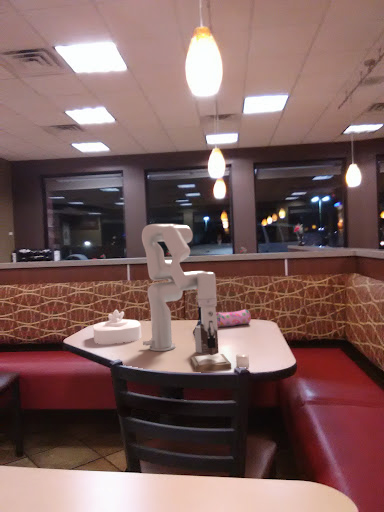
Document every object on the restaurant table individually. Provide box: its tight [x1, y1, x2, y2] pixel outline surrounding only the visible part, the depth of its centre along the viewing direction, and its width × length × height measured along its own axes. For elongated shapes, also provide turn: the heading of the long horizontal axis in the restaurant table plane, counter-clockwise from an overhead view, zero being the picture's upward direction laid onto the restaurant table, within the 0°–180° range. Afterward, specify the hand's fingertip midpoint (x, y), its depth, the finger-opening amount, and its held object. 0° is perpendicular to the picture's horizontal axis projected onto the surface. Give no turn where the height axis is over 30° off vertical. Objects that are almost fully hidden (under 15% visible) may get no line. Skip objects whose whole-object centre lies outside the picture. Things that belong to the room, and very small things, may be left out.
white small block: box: [235, 353, 250, 369], centre depth 159 cm, size 5×5×4 cm
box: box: [200, 323, 220, 355], centre depth 163 cm, size 6×4×12 cm
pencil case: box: [216, 308, 252, 328], centre depth 237 cm, size 21×9×9 cm, turn 106°
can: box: [194, 325, 206, 355], centre depth 183 cm, size 8×8×12 cm
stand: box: [190, 353, 232, 373], centre depth 163 cm, size 14×14×2 cm
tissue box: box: [92, 309, 142, 345], centre depth 219 cm, size 25×25×16 cm
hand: (209, 345), depth 163 cm, fingers closed on box, 7 cm apart
